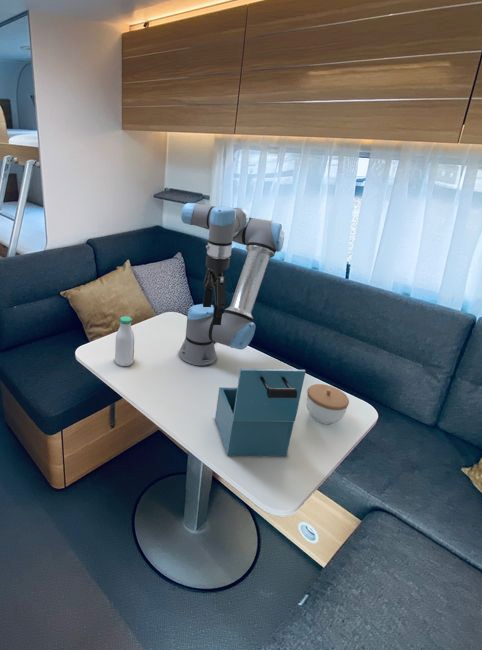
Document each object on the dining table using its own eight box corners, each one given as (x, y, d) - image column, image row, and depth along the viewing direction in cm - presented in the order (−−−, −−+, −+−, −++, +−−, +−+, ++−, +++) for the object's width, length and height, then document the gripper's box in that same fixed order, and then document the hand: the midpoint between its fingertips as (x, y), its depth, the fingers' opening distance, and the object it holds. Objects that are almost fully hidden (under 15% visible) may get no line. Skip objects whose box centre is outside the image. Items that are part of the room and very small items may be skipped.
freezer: (214, 419, 138) (219, 387, 133) (267, 420, 138) (273, 388, 134) (227, 455, 123) (232, 420, 118) (286, 456, 123) (294, 421, 119)
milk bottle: (131, 367, 166) (133, 323, 159) (113, 365, 167) (114, 321, 160) (134, 357, 173) (136, 315, 166) (117, 355, 174) (118, 313, 167)
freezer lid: (240, 368, 113) (250, 388, 104) (304, 369, 113) (319, 389, 105) (232, 418, 118) (241, 441, 110) (293, 419, 119) (307, 441, 111)
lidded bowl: (296, 405, 146) (301, 379, 142) (330, 404, 147) (336, 378, 143) (314, 430, 134) (321, 402, 130) (351, 429, 135) (358, 401, 131)
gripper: (198, 244, 143) (193, 300, 150) (216, 268, 119) (208, 332, 127) (219, 244, 143) (213, 300, 150) (241, 269, 119) (232, 333, 127)
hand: (211, 315), depth 139 cm, fingers open, 13 cm apart
